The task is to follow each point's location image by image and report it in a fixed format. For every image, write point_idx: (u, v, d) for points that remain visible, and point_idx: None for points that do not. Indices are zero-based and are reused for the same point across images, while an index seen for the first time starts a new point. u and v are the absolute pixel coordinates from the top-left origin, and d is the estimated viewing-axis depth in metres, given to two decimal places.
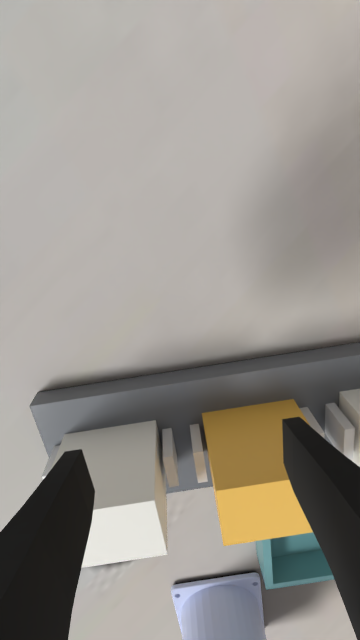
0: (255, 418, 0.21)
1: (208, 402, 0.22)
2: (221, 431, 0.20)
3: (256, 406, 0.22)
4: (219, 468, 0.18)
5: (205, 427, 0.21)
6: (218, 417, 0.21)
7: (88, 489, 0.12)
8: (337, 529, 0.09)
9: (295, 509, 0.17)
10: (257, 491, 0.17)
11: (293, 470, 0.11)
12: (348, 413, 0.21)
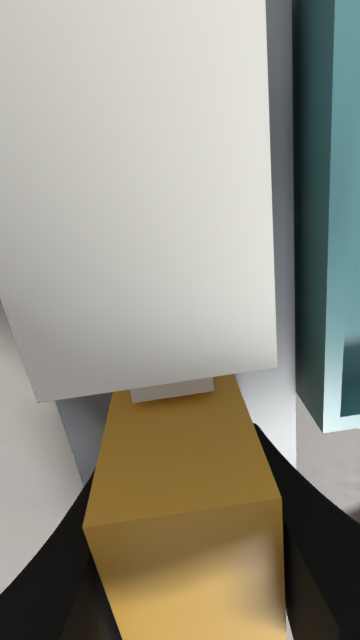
0: None
1: None
2: None
3: None
4: None
5: None
6: None
7: None
8: None
9: (200, 579, 0.08)
10: (142, 637, 0.08)
11: None
12: None
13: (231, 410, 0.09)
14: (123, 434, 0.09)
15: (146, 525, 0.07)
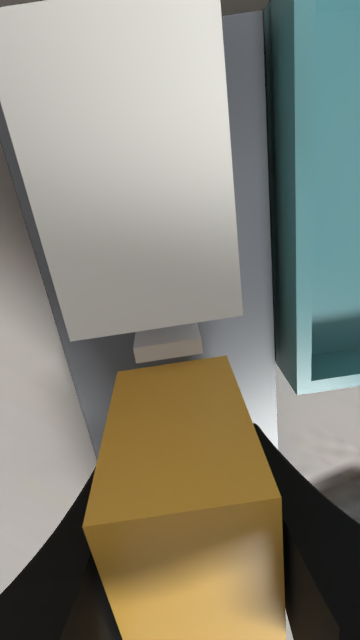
0: None
1: None
2: None
3: None
4: None
5: None
6: None
7: None
8: None
9: (199, 578, 0.08)
10: (141, 637, 0.08)
11: None
12: None
13: (231, 410, 0.09)
14: (123, 434, 0.09)
15: (146, 525, 0.07)
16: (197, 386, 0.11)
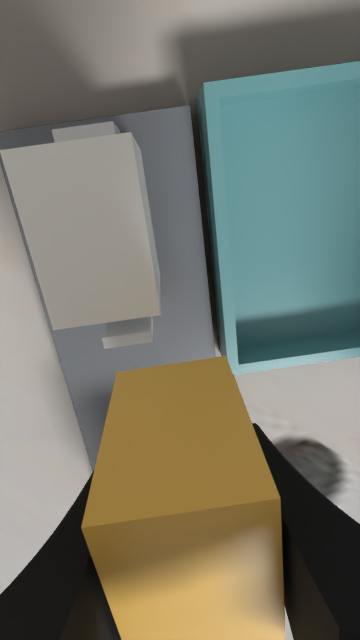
0: None
1: (105, 415, 0.21)
2: None
3: None
4: None
5: None
6: None
7: None
8: None
9: (199, 579, 0.08)
10: (140, 638, 0.08)
11: None
12: None
13: (231, 410, 0.09)
14: (122, 435, 0.09)
15: (145, 526, 0.07)
16: (196, 386, 0.11)
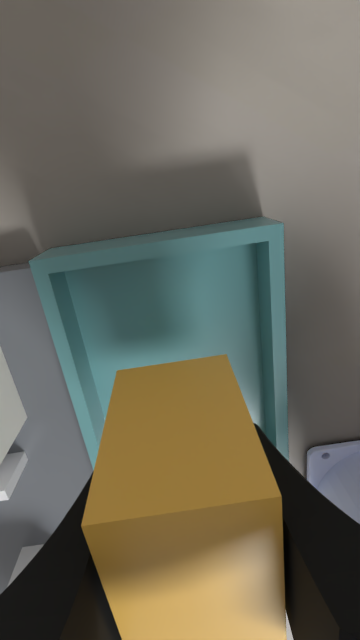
0: None
1: None
2: None
3: None
4: None
5: None
6: None
7: None
8: None
9: (199, 577, 0.08)
10: (141, 637, 0.08)
11: None
12: None
13: (231, 408, 0.09)
14: (122, 433, 0.09)
15: (145, 524, 0.07)
16: (197, 385, 0.11)
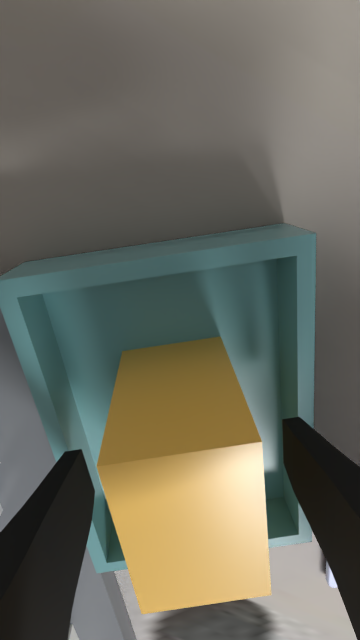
0: None
1: None
2: None
3: None
4: None
5: None
6: None
7: (88, 489, 0.12)
8: (337, 529, 0.09)
9: (195, 515, 0.09)
10: (145, 570, 0.10)
11: (293, 470, 0.11)
12: None
13: (223, 379, 0.11)
14: (129, 399, 0.10)
15: (149, 465, 0.08)
16: (194, 361, 0.12)
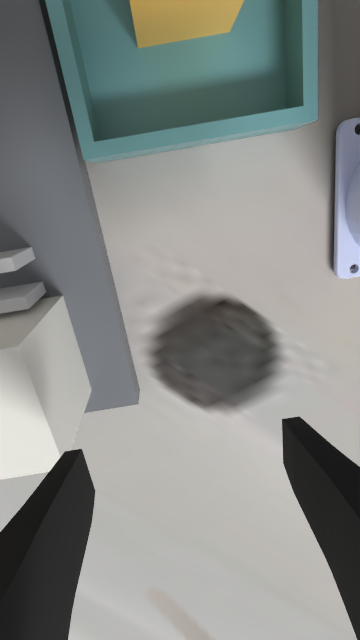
0: None
1: None
2: None
3: None
4: None
5: (135, 32, 0.13)
6: None
7: (88, 489, 0.12)
8: (337, 529, 0.09)
9: None
10: None
11: (293, 470, 0.11)
12: None
13: None
14: None
15: None
16: None
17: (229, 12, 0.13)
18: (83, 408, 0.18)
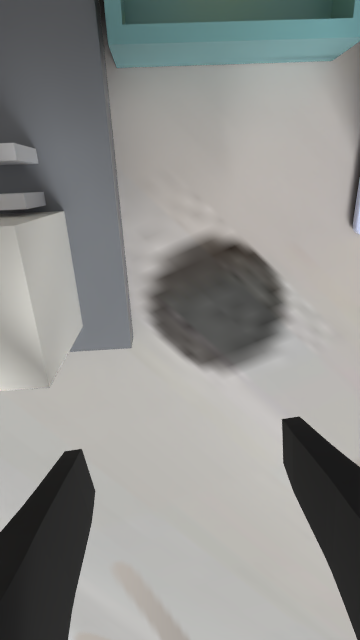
0: None
1: None
2: None
3: None
4: None
5: None
6: None
7: (88, 489, 0.12)
8: (337, 529, 0.09)
9: None
10: None
11: (293, 470, 0.11)
12: None
13: None
14: None
15: None
16: None
17: None
18: (73, 338, 0.17)
